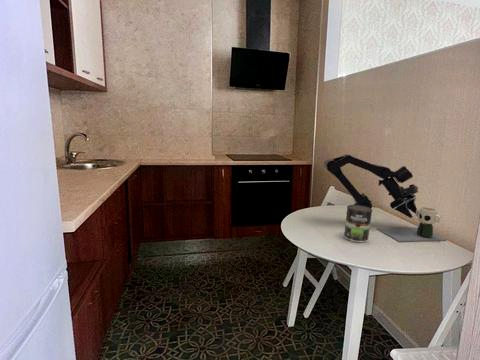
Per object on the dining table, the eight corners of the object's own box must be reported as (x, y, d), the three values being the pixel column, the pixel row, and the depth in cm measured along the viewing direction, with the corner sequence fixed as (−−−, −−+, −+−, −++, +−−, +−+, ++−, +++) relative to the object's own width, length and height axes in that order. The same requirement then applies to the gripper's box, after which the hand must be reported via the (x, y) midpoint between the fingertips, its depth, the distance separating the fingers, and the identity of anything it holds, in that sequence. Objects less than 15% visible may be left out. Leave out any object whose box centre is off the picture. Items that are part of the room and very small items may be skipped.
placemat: (399, 242, 127) (399, 241, 127) (376, 229, 143) (376, 228, 143) (446, 240, 131) (446, 239, 131) (419, 228, 147) (419, 227, 147)
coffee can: (368, 244, 124) (373, 212, 121) (343, 240, 128) (346, 209, 125) (367, 236, 133) (371, 206, 131) (344, 232, 137) (347, 203, 134)
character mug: (408, 232, 138) (412, 206, 136) (417, 230, 142) (421, 204, 139) (431, 241, 129) (436, 212, 126) (440, 238, 132) (446, 211, 130)
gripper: (401, 180, 131) (424, 210, 125) (414, 177, 144) (436, 203, 138) (380, 194, 138) (402, 222, 132) (394, 189, 151) (415, 215, 145)
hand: (414, 215), depth 137 cm, fingers open, 9 cm apart
